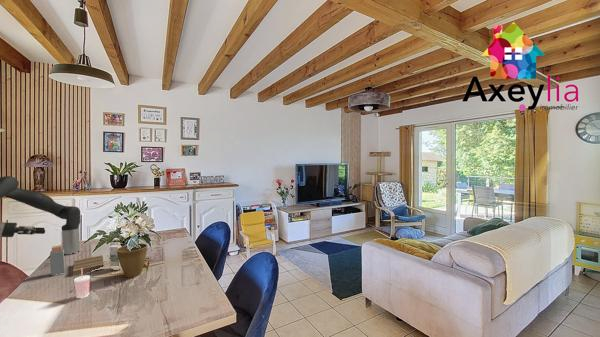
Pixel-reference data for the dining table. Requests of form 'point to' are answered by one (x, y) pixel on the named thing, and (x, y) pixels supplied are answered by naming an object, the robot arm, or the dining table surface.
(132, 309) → the dining table surface
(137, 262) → the plant pot
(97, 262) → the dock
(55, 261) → the grey open box
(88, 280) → the beverage cup
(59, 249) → the block
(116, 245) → the syrup box
